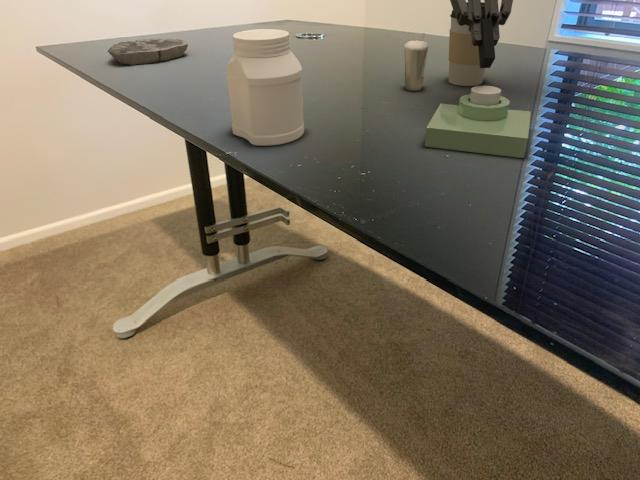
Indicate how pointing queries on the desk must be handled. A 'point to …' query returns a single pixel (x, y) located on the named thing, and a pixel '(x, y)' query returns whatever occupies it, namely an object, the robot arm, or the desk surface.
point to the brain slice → (148, 50)
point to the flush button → (485, 95)
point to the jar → (265, 88)
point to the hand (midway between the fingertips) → (487, 62)
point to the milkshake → (415, 63)
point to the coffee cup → (464, 54)
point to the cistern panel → (479, 128)
